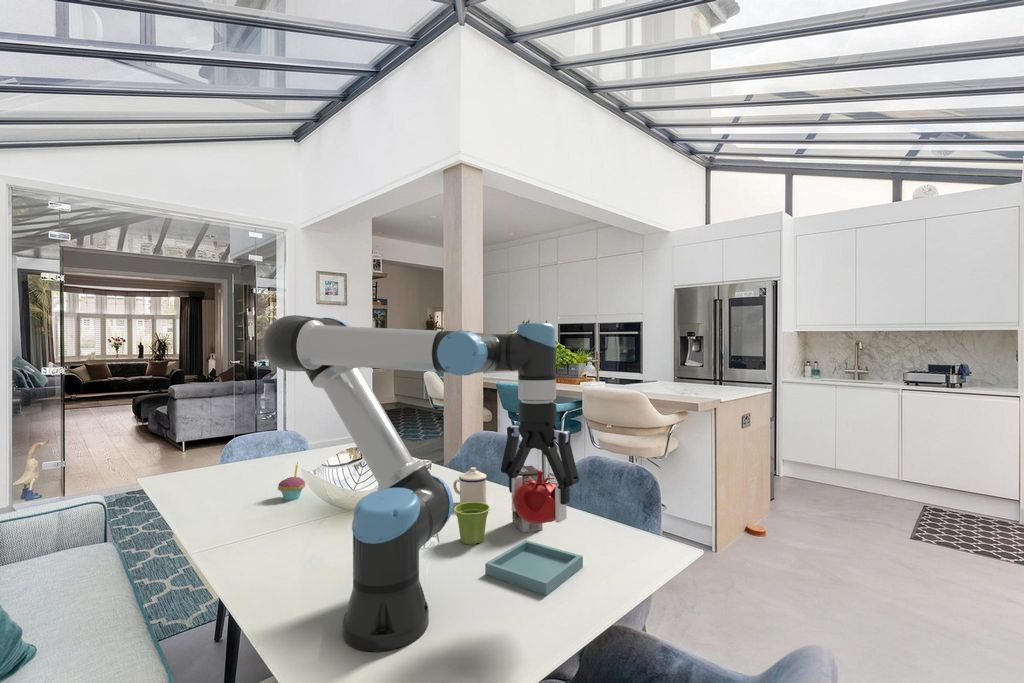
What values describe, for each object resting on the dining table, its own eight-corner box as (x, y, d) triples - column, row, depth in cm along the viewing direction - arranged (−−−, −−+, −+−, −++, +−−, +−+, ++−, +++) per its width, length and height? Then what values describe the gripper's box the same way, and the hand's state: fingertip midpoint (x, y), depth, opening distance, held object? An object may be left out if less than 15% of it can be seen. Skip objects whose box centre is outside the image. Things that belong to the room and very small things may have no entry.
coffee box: (511, 521, 140) (511, 466, 140) (532, 519, 142) (531, 464, 142) (521, 533, 131) (521, 474, 131) (543, 530, 133) (543, 472, 133)
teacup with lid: (491, 501, 159) (491, 466, 159) (478, 509, 150) (478, 472, 151) (460, 496, 164) (460, 462, 164) (446, 504, 156) (446, 468, 156)
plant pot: (484, 549, 121) (484, 514, 121) (449, 546, 123) (449, 512, 123) (493, 535, 130) (493, 503, 130) (460, 532, 132) (460, 501, 132)
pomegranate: (506, 514, 97) (505, 468, 97) (552, 508, 100) (550, 463, 101) (524, 530, 88) (522, 479, 88) (573, 523, 91) (571, 473, 91)
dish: (546, 595, 97) (546, 583, 98) (485, 574, 107) (485, 563, 107) (582, 566, 110) (582, 555, 110) (525, 550, 120) (525, 540, 120)
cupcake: (296, 493, 169) (297, 459, 169) (310, 497, 164) (310, 462, 164) (272, 499, 162) (273, 463, 162) (286, 504, 157) (286, 467, 157)
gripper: (597, 402, 90) (598, 521, 90) (505, 396, 104) (506, 499, 104) (576, 406, 85) (578, 533, 84) (482, 399, 98) (483, 508, 98)
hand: (538, 514), depth 94 cm, fingers closed on pomegranate, 10 cm apart
